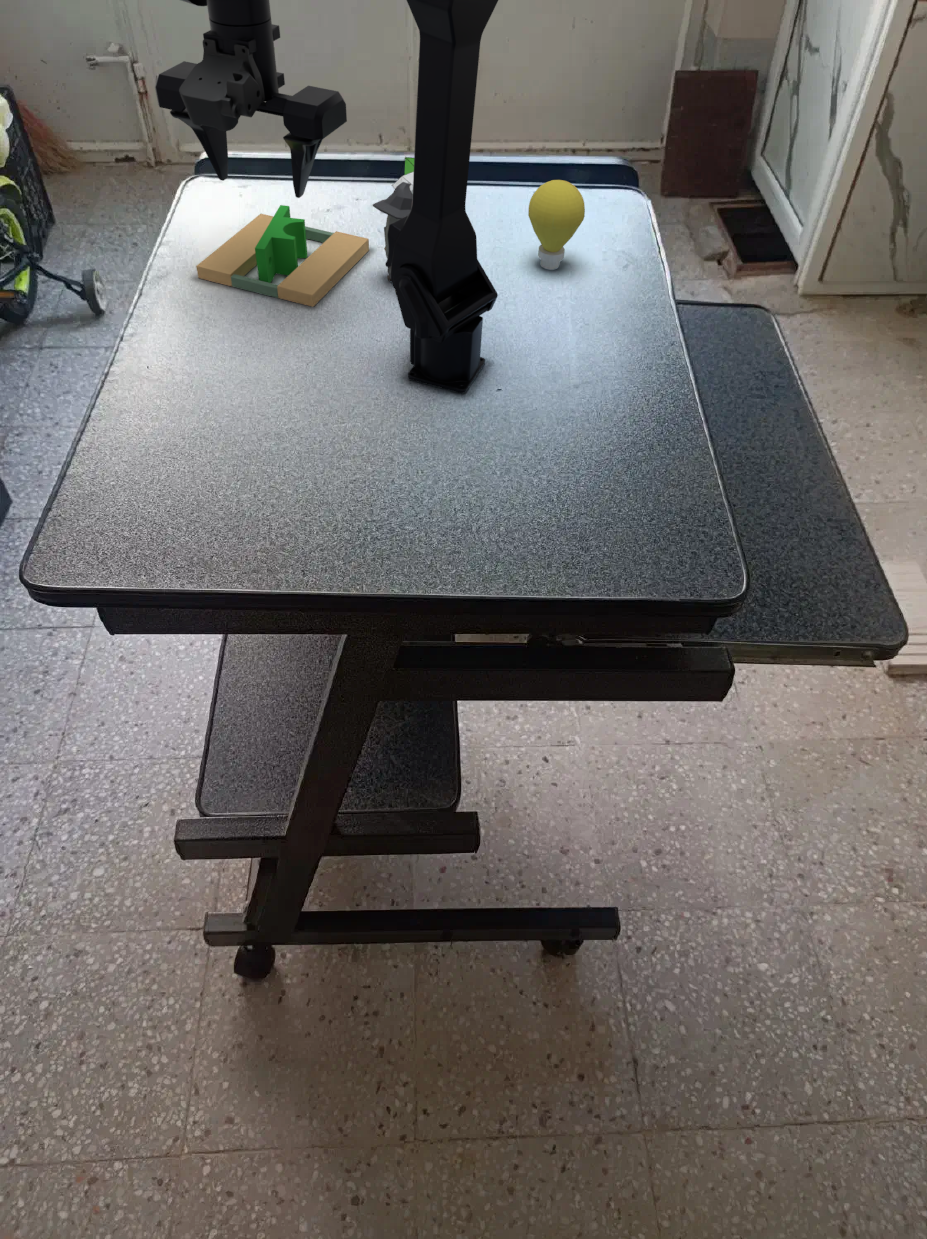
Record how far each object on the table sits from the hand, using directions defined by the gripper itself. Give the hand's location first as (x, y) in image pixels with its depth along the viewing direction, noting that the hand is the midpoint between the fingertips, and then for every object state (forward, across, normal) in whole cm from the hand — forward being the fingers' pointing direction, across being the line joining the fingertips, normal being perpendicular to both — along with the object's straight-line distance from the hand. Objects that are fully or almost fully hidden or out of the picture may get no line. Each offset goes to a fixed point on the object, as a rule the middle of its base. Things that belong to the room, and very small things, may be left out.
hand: (261, 187), depth 96 cm
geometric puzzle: (+12, +7, +26) cm, 29 cm away
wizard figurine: (+12, +13, +8) cm, 20 cm away
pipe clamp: (+12, -2, +6) cm, 13 cm away
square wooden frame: (+11, -2, +6) cm, 13 cm away
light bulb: (+12, +27, +20) cm, 36 cm away
